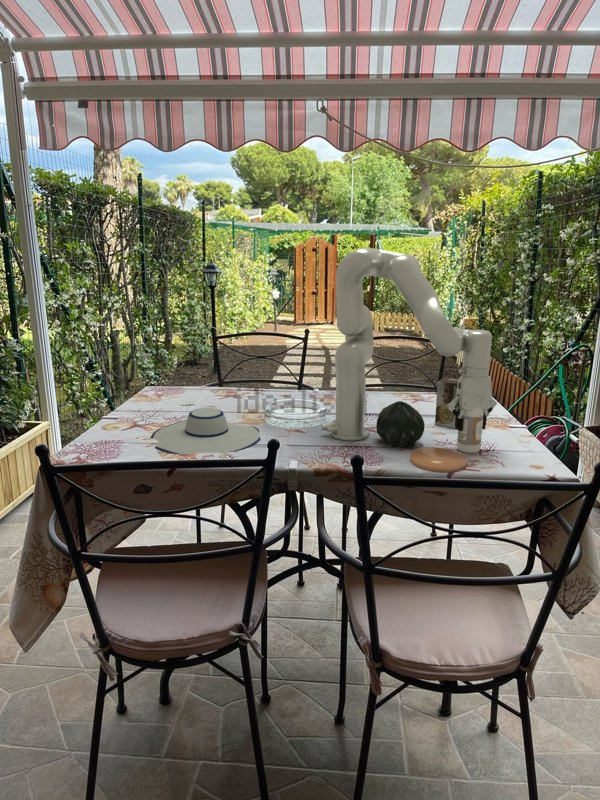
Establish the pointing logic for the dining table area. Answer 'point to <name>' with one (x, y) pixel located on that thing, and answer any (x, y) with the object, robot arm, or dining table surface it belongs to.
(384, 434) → the squash
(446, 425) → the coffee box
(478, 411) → the bath foam
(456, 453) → the terracotta dish
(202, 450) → the sun hat
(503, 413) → the dining table surface
